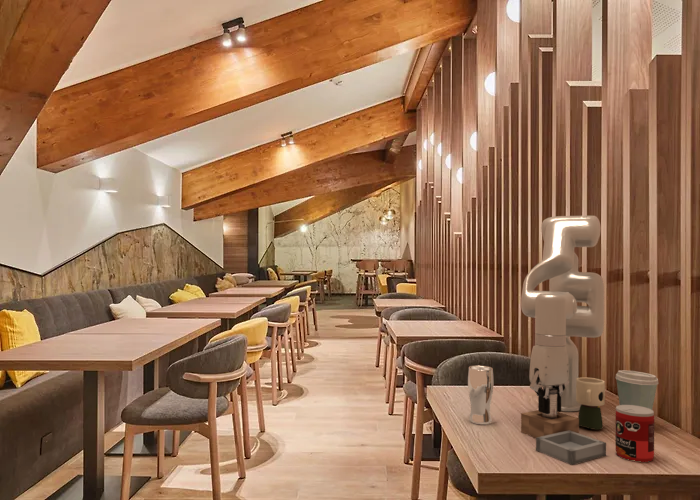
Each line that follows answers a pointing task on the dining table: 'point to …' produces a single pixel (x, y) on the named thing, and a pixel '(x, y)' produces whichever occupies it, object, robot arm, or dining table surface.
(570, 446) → the tray
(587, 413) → the character mug
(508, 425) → the dining table surface
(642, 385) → the disposable coffee cup
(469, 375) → the beer glass
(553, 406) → the pin
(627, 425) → the canned food
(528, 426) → the block
